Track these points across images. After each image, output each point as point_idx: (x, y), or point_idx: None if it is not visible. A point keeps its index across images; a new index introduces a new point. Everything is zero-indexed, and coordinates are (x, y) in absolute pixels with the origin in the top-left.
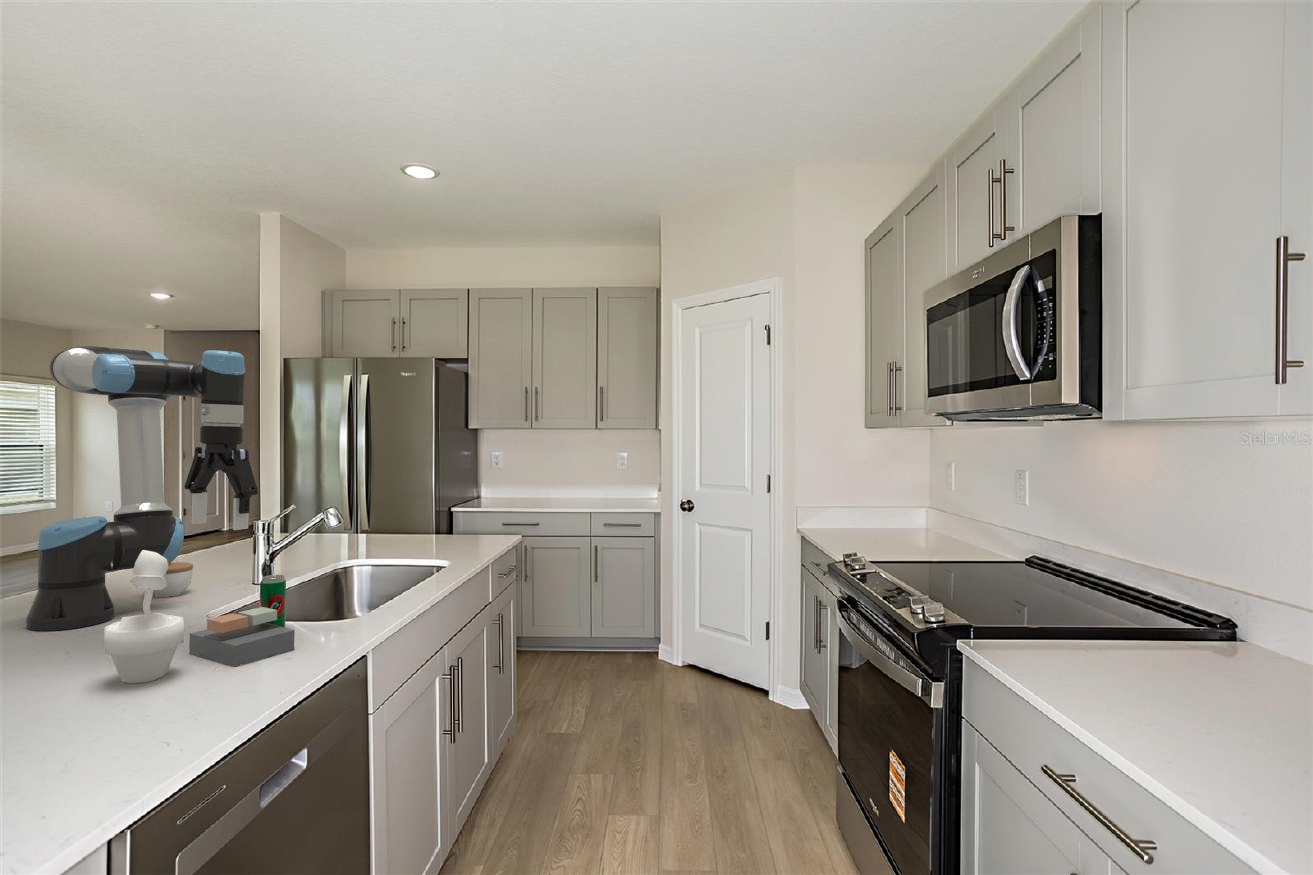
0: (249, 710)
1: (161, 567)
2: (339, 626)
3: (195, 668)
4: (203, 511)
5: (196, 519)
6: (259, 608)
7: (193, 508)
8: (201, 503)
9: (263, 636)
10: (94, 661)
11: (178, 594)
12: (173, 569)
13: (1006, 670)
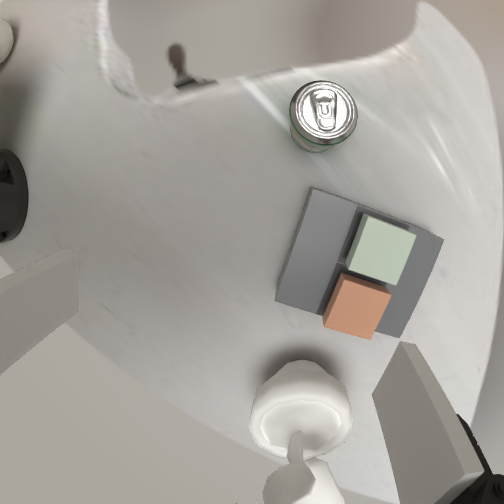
0: (465, 405)
1: (305, 484)
2: (417, 85)
3: (339, 338)
4: (39, 293)
5: (64, 308)
6: (371, 230)
7: (27, 347)
8: (8, 325)
9: (416, 287)
10: (174, 336)
11: (12, 41)
12: None
13: None
